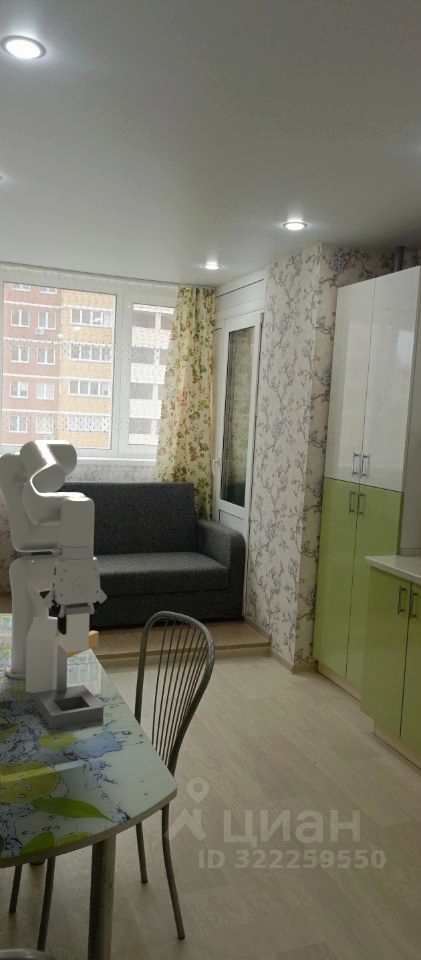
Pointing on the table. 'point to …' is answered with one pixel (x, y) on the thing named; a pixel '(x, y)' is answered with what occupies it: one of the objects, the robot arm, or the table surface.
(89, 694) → the socket
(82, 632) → the plug
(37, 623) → the milk carton
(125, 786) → the table surface
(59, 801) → the table surface
